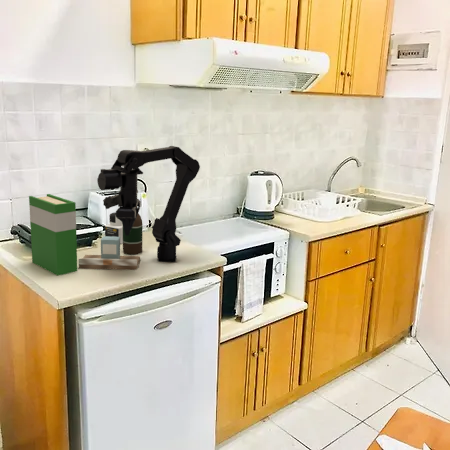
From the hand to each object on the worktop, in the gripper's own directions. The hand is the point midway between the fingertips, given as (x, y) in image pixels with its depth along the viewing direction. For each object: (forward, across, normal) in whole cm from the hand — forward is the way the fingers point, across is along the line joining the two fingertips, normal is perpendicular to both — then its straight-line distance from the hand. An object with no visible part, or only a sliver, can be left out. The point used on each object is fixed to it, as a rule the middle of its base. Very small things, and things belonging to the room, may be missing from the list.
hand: (128, 231), depth 177 cm
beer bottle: (+13, -18, -1) cm, 22 cm away
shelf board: (+13, -3, -7) cm, 15 cm away
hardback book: (+13, +1, -26) cm, 29 cm away
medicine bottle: (+13, -32, -9) cm, 36 cm away
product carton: (+12, -4, -7) cm, 14 cm away
